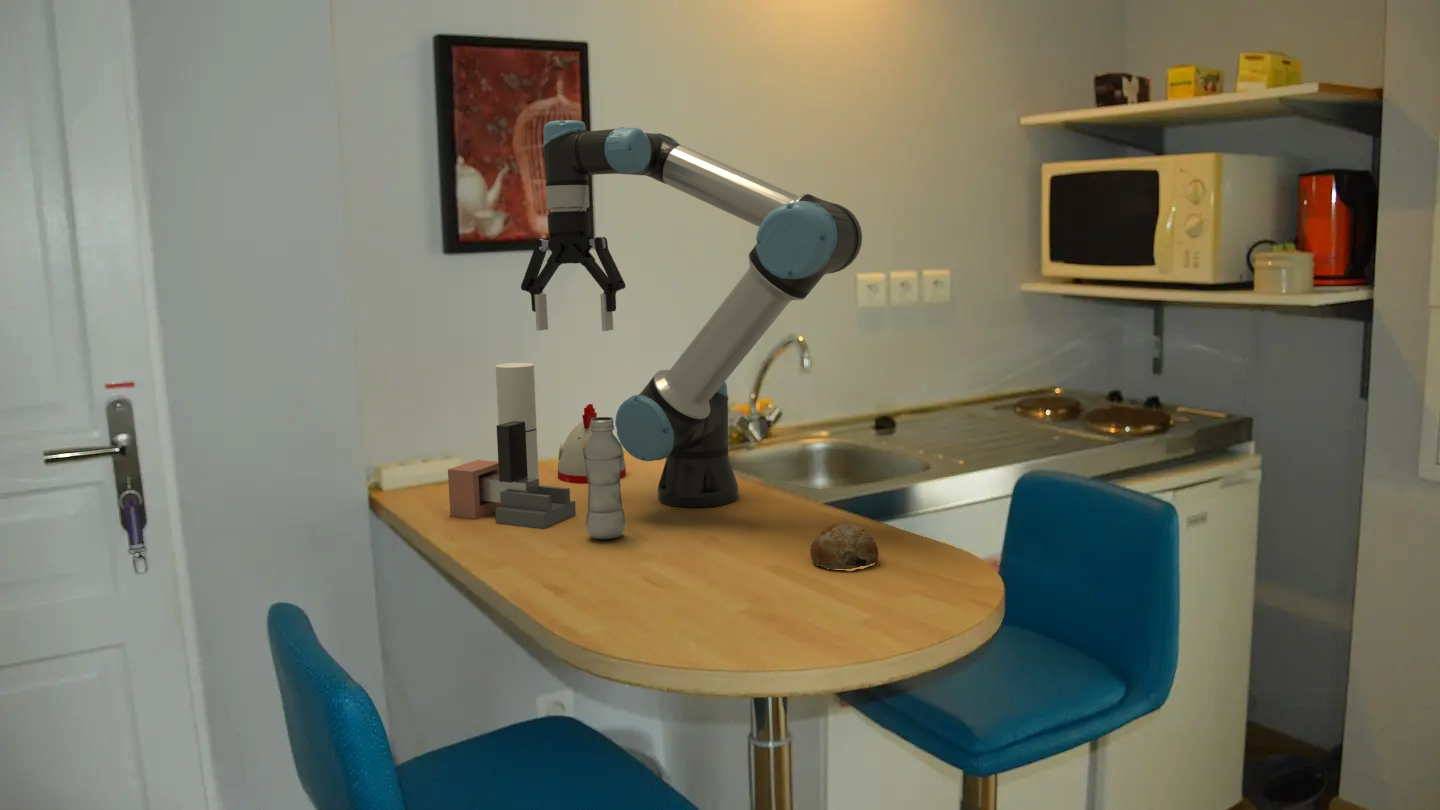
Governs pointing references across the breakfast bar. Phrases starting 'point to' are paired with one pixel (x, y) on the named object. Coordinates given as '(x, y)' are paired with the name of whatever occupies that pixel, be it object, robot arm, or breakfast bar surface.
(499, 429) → the black and grey block
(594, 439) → the plastic bottle
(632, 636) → the breakfast bar surface
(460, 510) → the socket block
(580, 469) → the kitchen timer
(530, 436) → the cylindrical container
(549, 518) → the grey stepped base
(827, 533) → the bread roll
